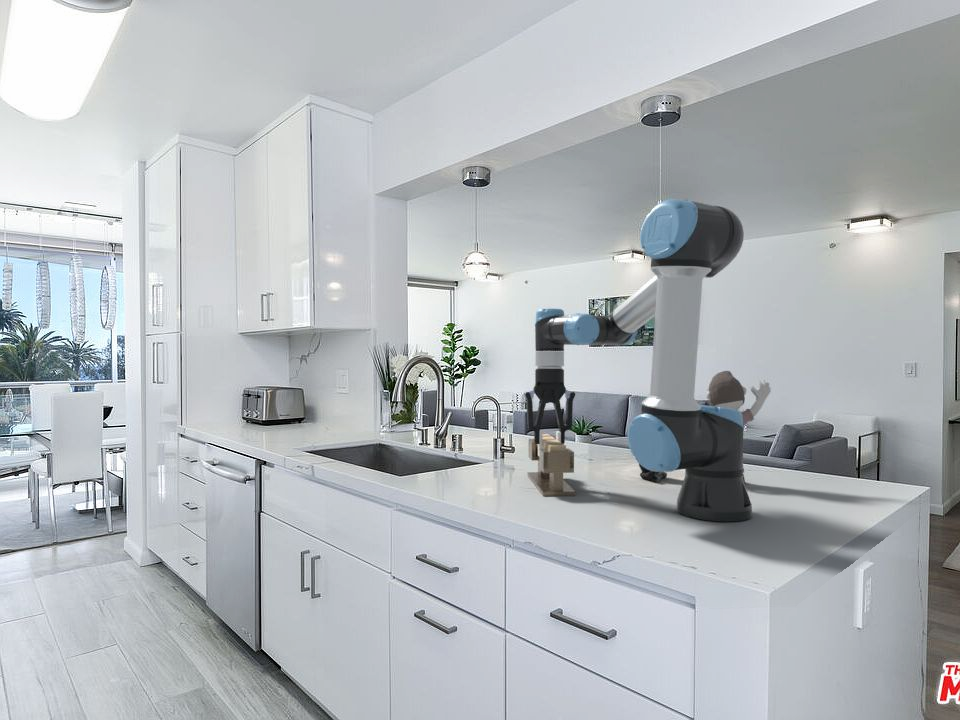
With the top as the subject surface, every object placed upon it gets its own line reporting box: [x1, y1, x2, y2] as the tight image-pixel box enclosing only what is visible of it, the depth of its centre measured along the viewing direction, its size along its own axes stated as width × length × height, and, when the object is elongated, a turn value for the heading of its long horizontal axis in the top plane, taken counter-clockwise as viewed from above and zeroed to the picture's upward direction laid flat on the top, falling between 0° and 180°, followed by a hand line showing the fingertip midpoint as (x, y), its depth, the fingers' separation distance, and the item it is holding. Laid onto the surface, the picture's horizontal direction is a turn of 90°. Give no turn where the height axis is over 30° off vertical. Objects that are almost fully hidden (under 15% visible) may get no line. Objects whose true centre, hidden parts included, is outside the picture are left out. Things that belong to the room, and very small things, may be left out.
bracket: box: [526, 438, 576, 497], centre depth 160 cm, size 25×8×10 cm, turn 4°
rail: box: [536, 433, 567, 455], centre depth 160 cm, size 20×4×5 cm, turn 6°
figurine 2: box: [705, 370, 772, 485], centre depth 163 cm, size 18×9×30 cm, turn 84°
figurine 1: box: [638, 463, 668, 482], centre depth 167 cm, size 10×10×15 cm
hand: (549, 456), depth 160 cm, fingers closed on rail, 4 cm apart
